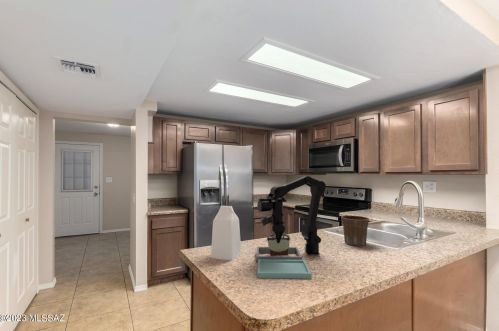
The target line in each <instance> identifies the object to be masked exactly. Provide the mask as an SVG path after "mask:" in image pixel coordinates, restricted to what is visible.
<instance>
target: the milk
mask: <svg viewBox="0 0 499 331" xmlns="http://www.w3.org/2000/svg"><path fill="white" fill-rule="evenodd" d="M240 227H241V226H240V218H239V217H238V215H237V214H236V213H235V211H234V208H233V206H232V205H220V207H219V210H218V212H217V213H216V215H215V217H214V219H213V220H212V230H211V232H212V234H211V235H212V236H211V250H210V253H211V254H210V258H211V259H217V260H225V261H234V260H235V259H236V258H238V257H239V256H240V255H241V254H242V246H241V244H242V243H241V230H240Z"/></svg>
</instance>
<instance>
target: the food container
mask: <svg viewBox="0 0 499 331" xmlns="http://www.w3.org/2000/svg"><path fill="white" fill-rule="evenodd" d="M265 240H266V242H267V244H268V246H267V247H269V252H270V253H269V256H290V255H289V254H290V253H289V247H290V243H291V242H290V241H292V240H291V237H290V235H289V234H287V233H285V232H284V233H283V235H282V238H281V240H280V243H277V240H276V235H275V233H274V232H273V233H271V234H268V235H267V237H266V239H265Z"/></svg>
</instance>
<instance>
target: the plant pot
mask: <svg viewBox="0 0 499 331" xmlns="http://www.w3.org/2000/svg"><path fill="white" fill-rule="evenodd" d="M340 218H341V223H342V228H343V238H344V240H343V241H344V243H345V244H346V245H347V246H352V247H353V246H356V247H365V246H366V245H367V237H368V226H369V222H370V217H367V216H364V215H363V216H362V215H349V214H348V215H342V216H341V217H340Z"/></svg>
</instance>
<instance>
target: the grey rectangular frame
mask: <svg viewBox="0 0 499 331" xmlns="http://www.w3.org/2000/svg"><path fill="white" fill-rule="evenodd" d="M255 253H256V254H255V262H256V263H255V264H258V259H270V260H303V255H302V254H301V251H300V249H299V247H298V246H289V254H295V255H293V256H291V255H289V256H270V255H260V254H270V252H269V246H257V247H256V252H255Z"/></svg>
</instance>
